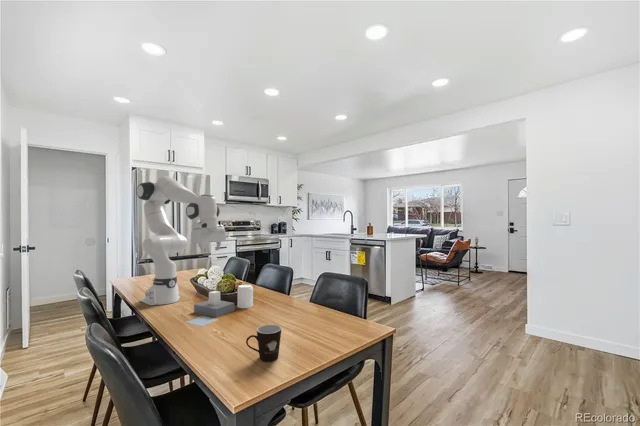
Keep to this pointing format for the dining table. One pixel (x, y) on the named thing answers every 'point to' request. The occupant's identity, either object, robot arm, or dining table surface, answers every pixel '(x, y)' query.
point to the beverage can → (245, 296)
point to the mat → (202, 321)
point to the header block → (214, 308)
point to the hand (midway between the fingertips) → (210, 251)
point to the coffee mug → (267, 342)
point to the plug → (214, 298)
